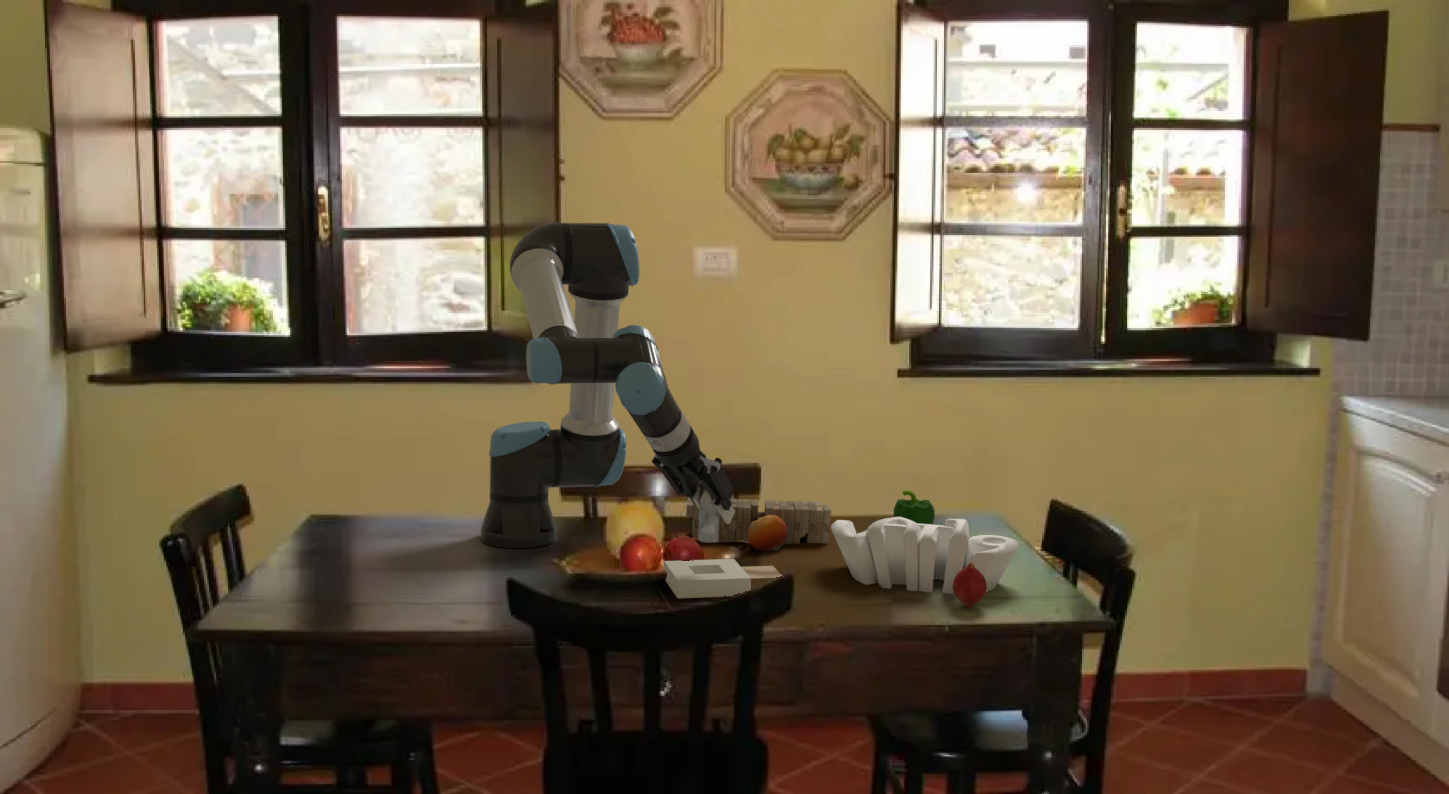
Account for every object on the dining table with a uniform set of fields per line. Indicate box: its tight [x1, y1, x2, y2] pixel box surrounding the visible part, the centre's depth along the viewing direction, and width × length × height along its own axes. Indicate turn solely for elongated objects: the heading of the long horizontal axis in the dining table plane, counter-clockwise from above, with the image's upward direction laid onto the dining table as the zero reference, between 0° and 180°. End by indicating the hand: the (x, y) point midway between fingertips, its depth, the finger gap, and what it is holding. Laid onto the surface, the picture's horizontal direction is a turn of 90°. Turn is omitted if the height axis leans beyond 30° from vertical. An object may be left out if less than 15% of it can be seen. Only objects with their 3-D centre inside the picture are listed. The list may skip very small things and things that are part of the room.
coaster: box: [741, 565, 783, 580], centre depth 258 cm, size 8×8×1 cm
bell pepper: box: [893, 490, 936, 525], centre depth 289 cm, size 8×8×10 cm
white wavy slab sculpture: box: [830, 516, 1020, 595], centre depth 257 cm, size 35×16×11 cm, turn 75°
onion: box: [953, 563, 987, 608], centre depth 241 cm, size 6×6×8 cm
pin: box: [698, 482, 719, 544], centre depth 245 cm, size 4×4×13 cm
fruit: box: [747, 515, 787, 552], centre depth 276 cm, size 8×8×8 cm
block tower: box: [685, 497, 832, 545], centre depth 284 cm, size 8×8×29 cm
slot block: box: [663, 558, 752, 599], centre depth 248 cm, size 13×13×4 cm
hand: (720, 515), depth 249 cm, fingers closed on pin, 3 cm apart
